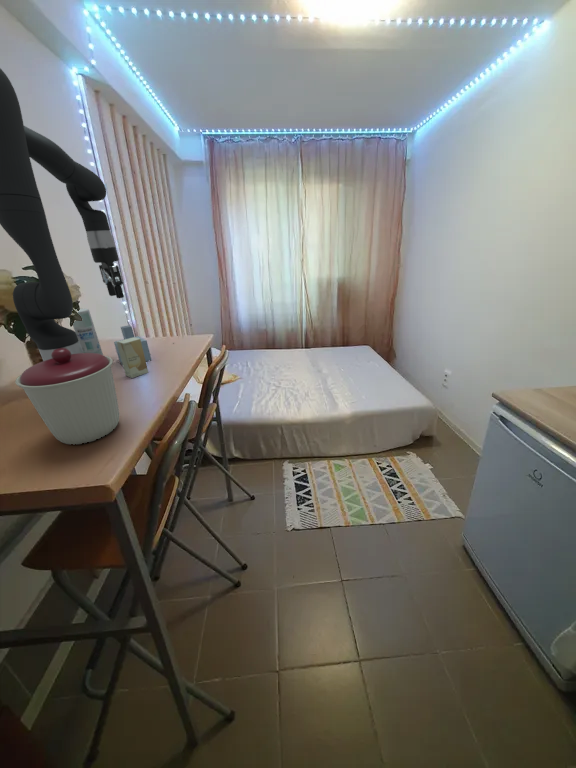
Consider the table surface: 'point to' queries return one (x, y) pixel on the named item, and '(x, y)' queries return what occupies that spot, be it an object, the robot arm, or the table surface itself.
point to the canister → (73, 395)
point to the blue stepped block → (129, 333)
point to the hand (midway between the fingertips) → (116, 296)
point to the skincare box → (132, 357)
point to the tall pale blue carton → (87, 333)
